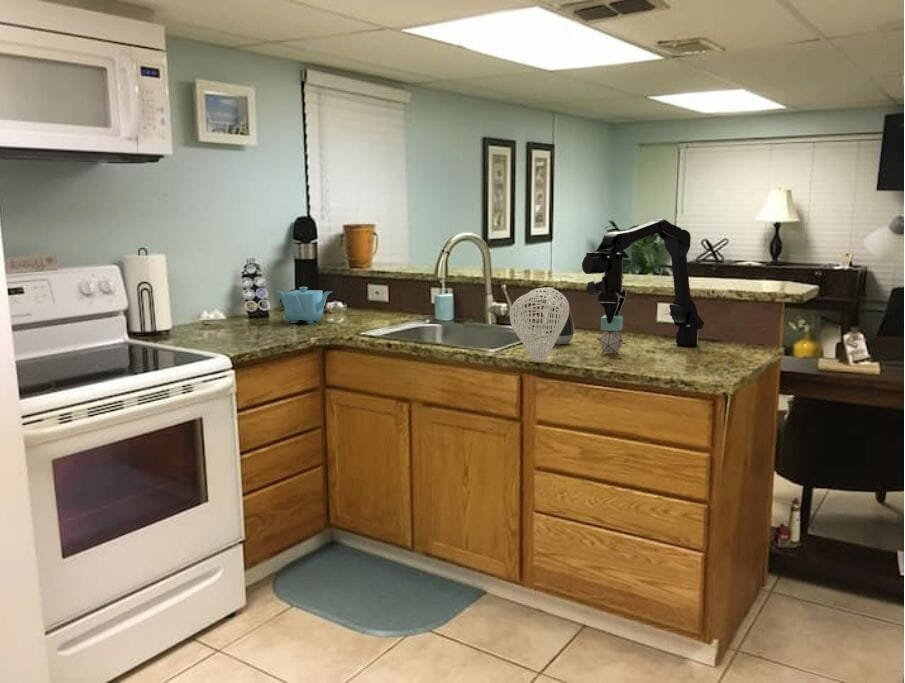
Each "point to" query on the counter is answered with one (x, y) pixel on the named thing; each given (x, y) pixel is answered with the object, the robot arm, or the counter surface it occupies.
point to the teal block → (615, 325)
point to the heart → (521, 324)
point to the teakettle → (303, 304)
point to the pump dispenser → (567, 331)
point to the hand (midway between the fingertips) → (612, 321)
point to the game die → (611, 341)
